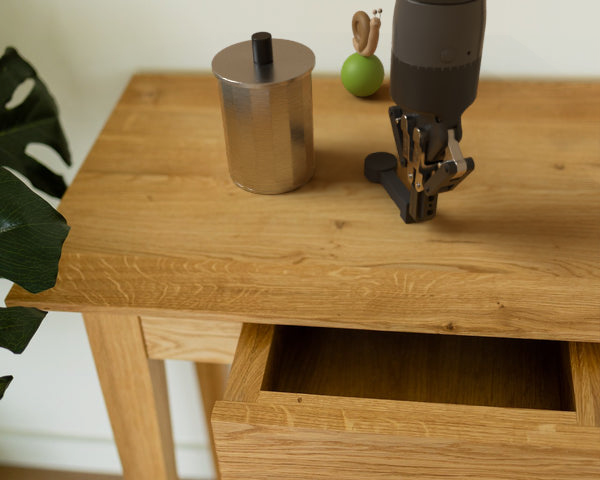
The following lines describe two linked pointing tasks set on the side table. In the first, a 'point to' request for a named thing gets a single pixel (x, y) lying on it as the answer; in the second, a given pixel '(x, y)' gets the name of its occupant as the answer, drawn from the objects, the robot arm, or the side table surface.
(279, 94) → the pot
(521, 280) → the side table surface
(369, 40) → the snail figurine
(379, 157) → the black disc-ended bar
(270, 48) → the pot lid
